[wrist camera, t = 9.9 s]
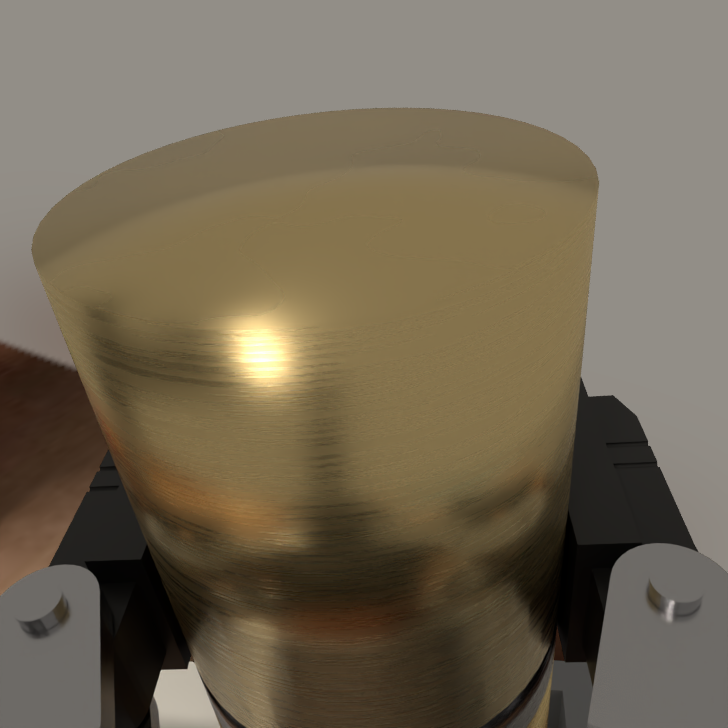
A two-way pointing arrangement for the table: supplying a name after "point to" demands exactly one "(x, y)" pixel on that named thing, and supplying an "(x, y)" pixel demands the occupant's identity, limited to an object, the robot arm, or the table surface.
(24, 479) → the table surface
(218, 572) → the cylinder
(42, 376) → the table surface
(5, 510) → the table surface
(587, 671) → the stand
